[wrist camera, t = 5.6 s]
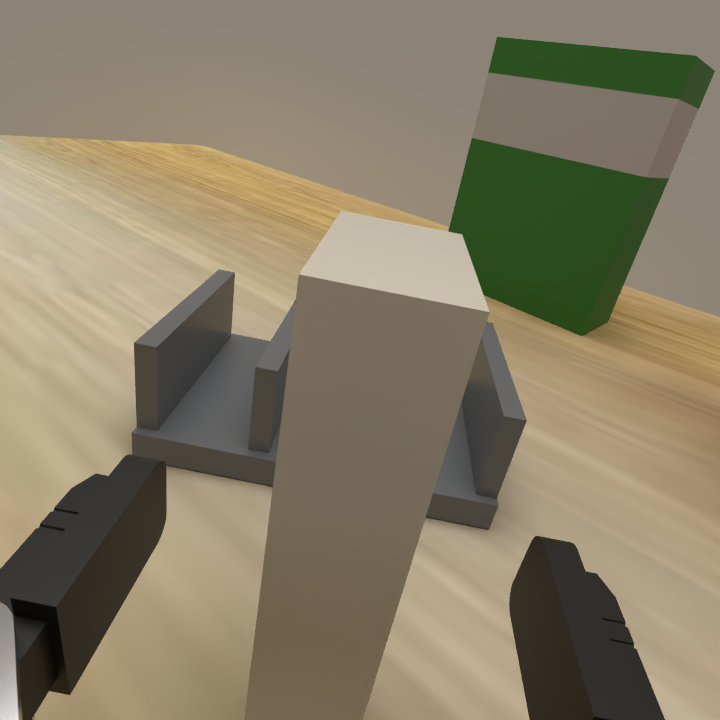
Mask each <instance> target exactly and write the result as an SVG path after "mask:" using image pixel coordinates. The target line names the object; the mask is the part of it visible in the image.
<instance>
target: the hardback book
mask: <svg viewBox="0 0 720 720" xmlns="http://www.w3.org/2000/svg"><path fill="white" fill-rule="evenodd" d="M714 72H715V71H714V70H713V69H712V68H710V67H709V66H708V65H707V64H705V63H704V62H703V61H702V60H701V59H699V58H698V57H697V56H692V55H681V54H671V53H660V52H650V51H639V50H628V49H618V48H608V47H597V46H587V45H576V44H565V43H555V42H544V41H533V40H523V39H513V38H502V37H497V40H496V44H495V48H494V52H493V56H492V60H491V64H490V68H489V72H488V76H487V80H486V84H485V88H484V92H483V96H482V100H481V104H480V108H479V112H478V116H477V120H476V124H475V128H474V132H473V136H472V140H471V144H470V148H469V152H468V156H467V160H466V164H465V168H464V172H463V176H462V180H461V184H460V188H459V192H458V196H457V200H456V204H455V207H454V211H453V215H452V220H451V223H450V227H449V231H448V232H452V233H458V234H462V235H463V238H464V241H465V244H466V247H467V250H468V253H469V255H470V258H471V261H472V264H473V267H474V270H475V272H476V275H477V278H478V281H479V284H480V287H481V289H482V292H483V295H485V296H488V297H490V298H492V299H495V300H497V301H500V302H502V303H504V304H507V305H509V306H511V307H514V308H516V309H519V310H521V311H523V312H526V313H528V314H531V315H533V316H535V317H538V318H540V319H543V320H545V321H547V322H550V323H552V324H554V325H557V326H559V327H562V328H564V329H566V330H569V331H571V332H574V333H576V334H578V335H581V336H583V335H585V334H587V333H588V332H590V331H592V330H594V329H596V328H598V327H599V326H601V325H603V324H605V323H607V322H608V320H609V318H610V315H611V313H612V311H613V308H614V306H615V304H616V301H617V299H618V296H619V294H620V292H621V289H622V287H623V285H624V282H625V280H626V278H627V275H628V273H629V271H630V268H631V266H632V264H633V261H634V259H635V256H636V254H637V252H638V250H639V247H640V245H641V242H642V240H643V238H644V236H645V233H646V231H647V229H648V226H649V224H650V222H651V219H652V217H653V215H654V212H655V210H656V207H657V205H658V203H659V201H660V198H661V196H662V194H663V191H664V188H665V187H666V184H667V182H668V180H669V177H670V175H671V172H672V170H673V168H674V165H675V163H676V161H677V158H678V156H679V154H680V151H681V149H682V147H683V144H684V142H685V140H686V137H687V135H688V133H689V130H690V128H691V126H692V123H693V121H694V118H695V116H696V114H697V112H698V109H699V107H700V105H701V102H702V100H703V98H704V95H705V93H706V91H707V88H708V86H709V84H710V81H711V79H712V77H713V74H714Z"/></svg>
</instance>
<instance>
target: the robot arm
mask: <svg viewBox="0 0 720 720" xmlns="http://www.w3.org/2000/svg"><path fill="white" fill-rule="evenodd" d="M165 521H166V464H165V462H164V461H161V460H156V459H151V458H146V457H140V456H135V455H126V456H125V457H124V458H123V459H122V460H121V461H120V463H119V464H118V465H117V466H116V468H115V469H114V470H113V471H112V473H111V474H110V475H109V476H106V475H100V474H94V475H93V476H91V477H89V478H88V479H86V480H85V481H83V482H81V483H80V484H78V485H76V486H75V487H73V488H71V489H70V491H69V492H68V493H67V494H66V495H65V496H64V497H63V499H62V500H61V501H60V502H59V503H58V504H57V505H56V507H55V508H54V511H53V512H50V513H49V514H48V516H47V517H46V518H45V519H44V520H43V521H42V522H41V524H40V527H39V528H36V529H35V530H34V532H33V533H32V534H31V535H30V536H29V537H28V538H27V539H26V541H25V542H24V543H23V544H22V545H21V546H20V547H19V549H18V550H17V551H16V552H15V553H14V554H13V555H12V556H11V558H10V559H9V560H8V561H7V562H6V563H5V564H4V566H3V567H2V568H1V569H0V720H35V717H34V714H35V713H36V711H37V709H38V708H39V706H40V705H41V703H42V701H43V700H44V698H45V697H46V695H47V693H48V692H49V691H53V692H58V693H63V694H68V695H70V694H71V692H72V691H73V689H74V687H75V685H76V684H77V682H78V680H79V679H80V677H81V675H82V673H83V672H84V670H85V668H86V666H87V665H88V663H89V661H90V659H91V658H92V656H93V654H94V653H95V651H96V649H97V647H98V646H99V644H100V642H101V640H102V639H103V637H104V635H105V634H106V632H107V630H108V628H109V627H110V625H111V623H112V621H113V620H114V618H115V616H116V614H117V613H118V611H119V609H120V608H121V606H122V604H123V602H124V601H125V599H126V597H127V595H128V594H129V592H130V590H131V589H132V587H133V585H134V583H135V582H136V580H137V578H138V576H139V575H140V573H141V571H142V569H143V568H144V566H145V564H146V563H147V561H148V559H149V557H150V556H151V554H152V552H153V550H154V549H155V547H156V545H157V543H158V542H159V539H160V537H161V535H162V532H163V529H164V525H165ZM509 606H510V617H511V622H512V627H513V633H514V638H515V643H516V649H517V654H518V659H519V665H520V670H521V675H522V681H523V686H524V692H525V697H526V702H527V708H528V713H529V718H530V720H665V719H664V716H663V714H662V711H661V709H660V706H659V704H658V701H657V699H656V696H655V694H654V691H653V689H652V686H651V684H650V682H649V679H648V677H647V674H646V672H645V669H644V667H643V664H642V662H641V659H640V657H639V654H638V652H637V649H634V642H633V640H632V637H631V635H630V632H629V630H628V627H625V623H626V622H625V620H624V617H623V615H622V612H621V610H620V607H619V605H618V602H617V600H616V597H615V596H614V595H613V594H612V592H611V591H610V590H609V589H608V587H607V586H606V585H605V583H604V582H603V581H602V580H601V578H600V577H599V576H598V575H597V574H596V573H590V572H585V569H584V566H583V563H582V561H581V558H580V555H579V552H578V550H577V548H576V546H575V545H574V544H573V543H571V542H566V541H561V540H556V539H550V538H545V537H540V536H536V537H534V538H533V540H532V542H531V544H530V546H529V548H528V550H527V552H526V555H525V557H524V559H523V561H522V564H521V566H520V568H519V570H518V572H517V575H516V577H515V579H514V581H513V584H512V587H511V592H510V603H509Z"/></svg>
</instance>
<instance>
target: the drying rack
mask: <svg viewBox="0 0 720 720" xmlns="http://www.w3.org/2000/svg"><path fill="white" fill-rule="evenodd" d="M234 278H235V273H234V272H229V271H224V270H218V271H217V272H216V273H215V274H213V275H212V276H211V277H210V278H209V279H208V280H206V281H205V282H204V283H203V284H202V285H201V286H200V287H198V288H197V289H196V290H195V291H194V292H193V293H191V294H190V295H189V296H188V297H187V298H186V299H184V300H183V301H182V302H181V303H180V304H179V305H177V306H176V307H175V308H174V309H173V310H172V311H170V312H169V313H168V314H167V315H166V316H165V317H163V318H162V319H161V320H160V321H159V322H158V323H157V324H155V325H154V326H153V327H152V328H151V329H150V330H148V331H147V332H146V333H145V334H144V335H143V336H141V337H140V338H139V339H138V340H137V341H136V342H134V357H135V386H136V415H137V427H136V429H135V430H134V431H133V432H132V451H133V455H135V456H140V457H146V458H151V459H156V460H161V461H164V462H165V464H166V465H169V466H174V467H179V468H184V469H189V470H194V471H199V472H204V473H209V474H214V475H219V476H224V477H229V478H234V479H239V480H244V481H249V482H254V483H259V484H264V485H269V486H273V483H274V475H275V466H276V458H277V450H278V442H279V434H280V426H281V417H282V409H283V401H284V393H285V385H286V377H287V368H288V360H289V352H290V344H291V336H292V328H293V319H294V311H295V303H296V300H295V302H294V303H293V305H292V307H291V308H290V310H289V312H288V313H287V315H286V317H285V318H284V320H283V322H282V323H281V325H280V327H279V328H278V330H277V332H276V333H275V335H274V337H273V338H272V340H271V341H266V340H261V339H256V338H251V337H246V336H241V335H236V334H231V327H232V311H233V294H234ZM526 421H527V420H526V417H525V415H524V412H523V409H522V406H521V403H520V400H519V397H518V395H517V392H516V389H515V386H514V383H513V380H512V377H511V375H510V372H509V369H508V366H507V363H506V360H505V357H504V354H503V352H502V349H501V346H500V343H499V340H498V337H497V334H496V332H495V329H494V326H493V323H489V322H486V325H485V328H484V331H483V334H482V337H481V341H480V344H479V347H478V350H477V354H476V357H475V360H474V363H473V366H472V370H471V373H470V376H469V379H468V382H467V386H466V389H465V392H464V395H463V399H462V402H461V405H460V408H459V411H458V415H457V418H456V421H455V424H454V427H453V431H452V434H451V437H450V440H449V444H448V447H447V450H446V453H445V456H444V460H443V463H442V466H441V469H440V472H439V476H438V479H437V482H436V485H435V488H434V492H433V495H432V498H431V501H430V505H429V508H428V511H427V514H426V517H430V518H435V519H440V520H445V521H450V522H455V523H460V524H465V525H470V526H475V527H480V528H485V529H489V528H490V525H491V523H492V520H493V517H494V515H495V512H496V510H497V507H498V503H497V496H498V493H499V491H500V488H501V486H502V483H503V480H504V478H505V475H506V473H507V470H508V467H509V465H510V462H511V460H512V457H513V454H514V452H515V449H516V447H517V444H518V441H519V439H520V436H521V434H522V431H523V428H524V426H525V423H526Z"/></svg>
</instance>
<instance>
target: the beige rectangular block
mask: <svg viewBox="0 0 720 720" xmlns="http://www.w3.org/2000/svg"><path fill="white" fill-rule="evenodd" d="M488 315H489V309H488V307H487V304H486V301H485V298H484V295H483V292H482V289H481V287H480V284H479V281H478V278H477V275H476V272H475V270H474V267H473V264H472V261H471V258H470V255H469V253H468V250H467V247H466V244H465V241H464V238H463V235H462V234H458V233H452V232H447V231H442V230H437V229H432V228H427V227H422V226H417V225H412V224H407V223H402V222H396V221H391V220H386V219H381V218H376V217H371V216H366V215H361V214H356V213H351V212H346V211H341V212H340V214H339V215H338V217H337V218H336V220H335V221H334V223H333V224H332V226H331V227H330V229H329V230H328V232H327V233H326V235H325V236H324V238H323V239H322V241H321V242H320V244H319V245H318V247H317V248H316V250H315V251H314V253H313V254H312V256H311V257H310V259H309V260H308V262H307V263H306V265H305V266H304V268H303V269H302V271H301V272H300V274H299V279H298V287H297V295H296V303H295V311H294V319H293V328H292V336H291V344H290V352H289V360H288V368H287V377H286V385H285V393H284V401H283V409H282V417H281V426H280V434H279V442H278V450H277V458H276V466H275V475H274V483H273V491H272V499H271V507H270V515H269V524H268V532H267V540H266V548H265V556H264V564H263V573H262V581H261V589H260V597H259V605H258V613H257V621H256V630H255V638H254V646H253V654H252V662H251V670H250V679H249V687H248V695H247V703H246V711H245V719H244V720H363V717H364V713H365V710H366V707H367V704H368V701H369V697H370V694H371V691H372V688H373V685H374V681H375V678H376V675H377V672H378V668H379V665H380V662H381V659H382V656H383V652H384V649H385V646H386V643H387V640H388V636H389V633H390V630H391V627H392V623H393V620H394V617H395V614H396V611H397V607H398V604H399V601H400V598H401V595H402V591H403V588H404V585H405V582H406V578H407V575H408V572H409V569H410V566H411V562H412V559H413V556H414V553H415V550H416V546H417V543H418V540H419V537H420V533H421V530H422V527H423V524H424V521H425V517H426V514H427V511H428V508H429V505H430V501H431V498H432V495H433V492H434V488H435V485H436V482H437V479H438V476H439V472H440V469H441V466H442V463H443V460H444V456H445V453H446V450H447V447H448V444H449V440H450V437H451V434H452V431H453V427H454V424H455V421H456V418H457V415H458V411H459V408H460V405H461V402H462V399H463V395H464V392H465V389H466V386H467V382H468V379H469V376H470V373H471V370H472V366H473V363H474V360H475V357H476V354H477V350H478V347H479V344H480V341H481V337H482V334H483V331H484V328H485V325H486V321H487V318H488Z"/></svg>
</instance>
